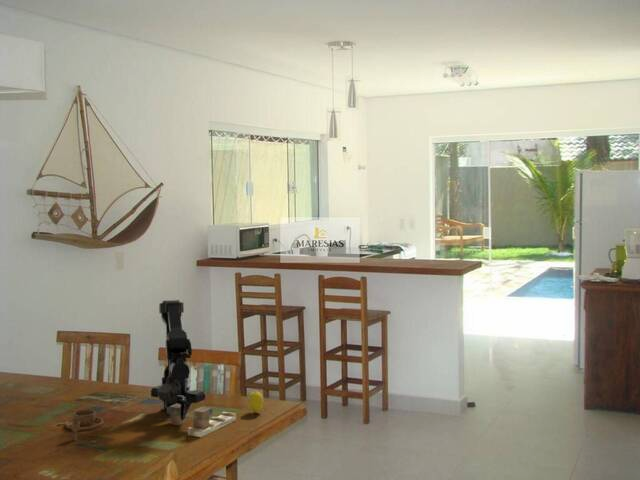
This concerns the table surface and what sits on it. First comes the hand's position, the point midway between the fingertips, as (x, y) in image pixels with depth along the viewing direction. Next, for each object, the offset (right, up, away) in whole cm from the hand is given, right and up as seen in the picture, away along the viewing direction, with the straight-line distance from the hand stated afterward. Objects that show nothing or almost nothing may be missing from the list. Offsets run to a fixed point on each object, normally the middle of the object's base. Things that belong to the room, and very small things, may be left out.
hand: (177, 419), depth 256 cm
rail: (+12, -2, -4) cm, 13 cm away
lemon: (+25, -1, +12) cm, 28 cm away
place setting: (-32, -2, -7) cm, 33 cm away
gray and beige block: (0, -1, 0) cm, 1 cm away
